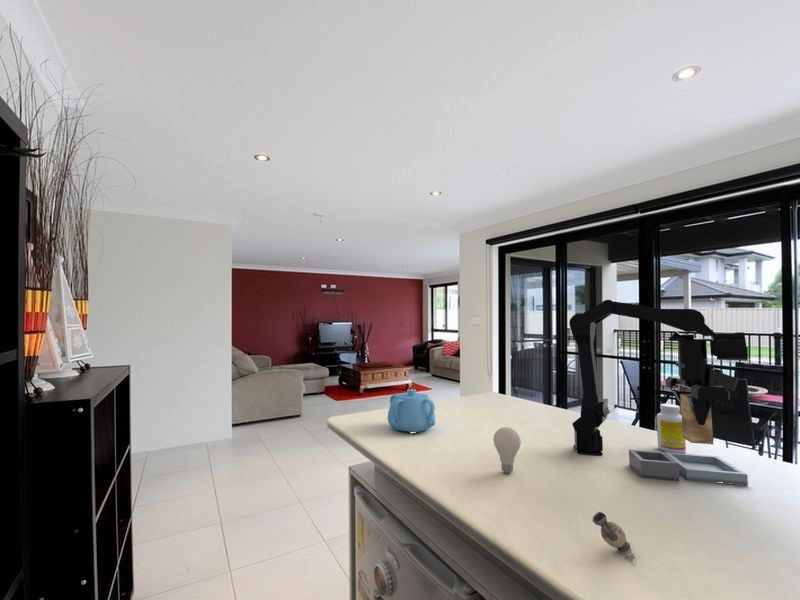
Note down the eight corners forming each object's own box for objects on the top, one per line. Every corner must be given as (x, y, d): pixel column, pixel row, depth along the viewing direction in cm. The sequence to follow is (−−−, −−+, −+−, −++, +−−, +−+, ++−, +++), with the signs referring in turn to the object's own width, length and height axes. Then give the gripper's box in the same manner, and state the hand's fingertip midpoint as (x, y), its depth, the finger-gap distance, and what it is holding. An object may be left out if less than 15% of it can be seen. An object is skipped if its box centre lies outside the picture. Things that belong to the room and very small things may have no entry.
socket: (641, 477, 90) (640, 460, 90) (629, 465, 98) (628, 449, 98) (679, 481, 88) (678, 463, 88) (664, 468, 96) (663, 452, 96)
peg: (691, 442, 91) (688, 397, 92) (682, 437, 96) (680, 393, 97) (713, 444, 90) (710, 397, 91) (703, 438, 95) (700, 394, 95)
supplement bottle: (690, 455, 106) (689, 408, 106) (664, 453, 107) (662, 407, 108) (678, 447, 112) (676, 403, 113) (653, 445, 113) (652, 402, 114)
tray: (687, 480, 89) (686, 469, 89) (664, 461, 100) (664, 452, 100) (747, 485, 86) (747, 474, 86) (717, 466, 97) (717, 456, 97)
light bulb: (521, 469, 95) (520, 425, 95) (521, 479, 89) (520, 432, 89) (494, 466, 97) (494, 422, 98) (492, 476, 91) (491, 429, 91)
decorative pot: (385, 436, 123) (385, 393, 123) (389, 422, 139) (389, 385, 139) (435, 437, 122) (435, 394, 123) (433, 423, 138) (433, 385, 139)
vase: (597, 559, 59) (595, 518, 60) (590, 543, 64) (588, 505, 65) (636, 565, 58) (633, 523, 58) (626, 548, 63) (623, 509, 64)
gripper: (755, 363, 83) (761, 435, 82) (710, 356, 101) (714, 415, 100) (697, 362, 86) (701, 431, 85) (663, 355, 104) (666, 413, 103)
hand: (696, 422), depth 93 cm, fingers closed on peg, 4 cm apart
